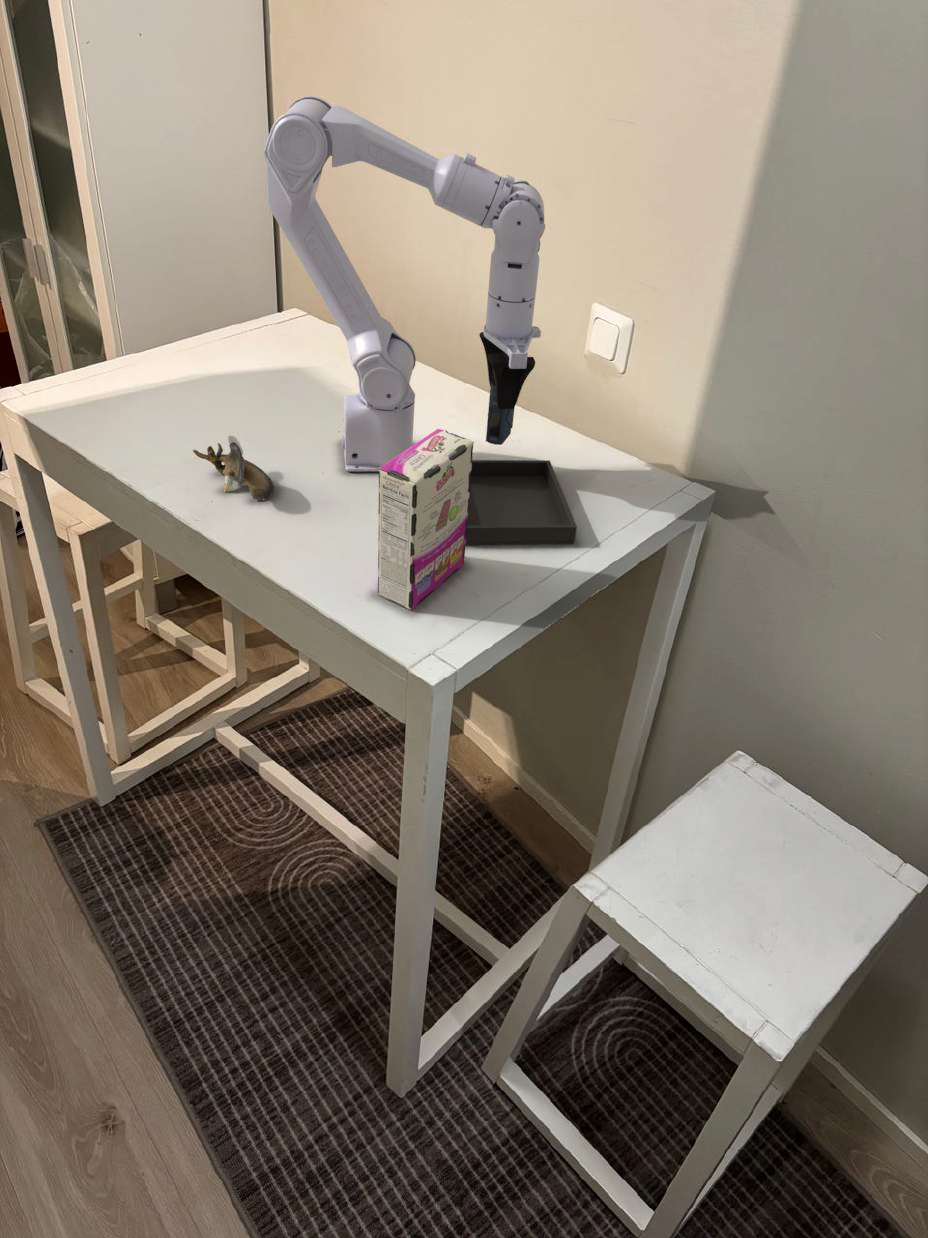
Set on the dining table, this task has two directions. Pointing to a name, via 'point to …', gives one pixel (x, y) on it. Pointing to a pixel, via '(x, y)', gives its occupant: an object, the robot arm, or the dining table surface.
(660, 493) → the dining table surface
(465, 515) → the candy bar box
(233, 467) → the antlered animal figurine
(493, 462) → the tray
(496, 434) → the vaping device
